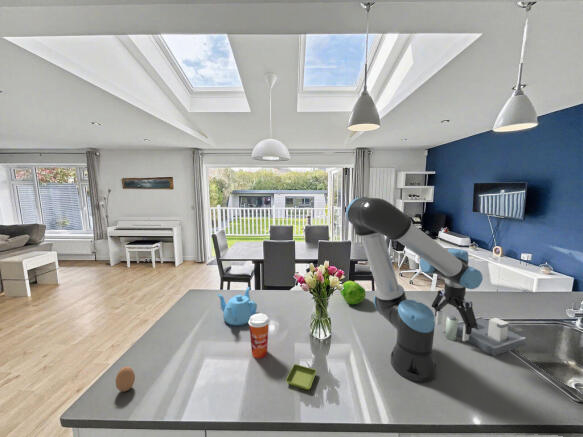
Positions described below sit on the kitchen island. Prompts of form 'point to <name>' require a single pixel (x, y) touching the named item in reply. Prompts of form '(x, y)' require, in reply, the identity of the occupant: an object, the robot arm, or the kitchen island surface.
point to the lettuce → (353, 292)
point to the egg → (125, 379)
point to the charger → (498, 329)
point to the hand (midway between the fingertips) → (451, 331)
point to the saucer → (301, 376)
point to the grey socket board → (487, 343)
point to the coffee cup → (259, 334)
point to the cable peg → (451, 328)
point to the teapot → (238, 309)
